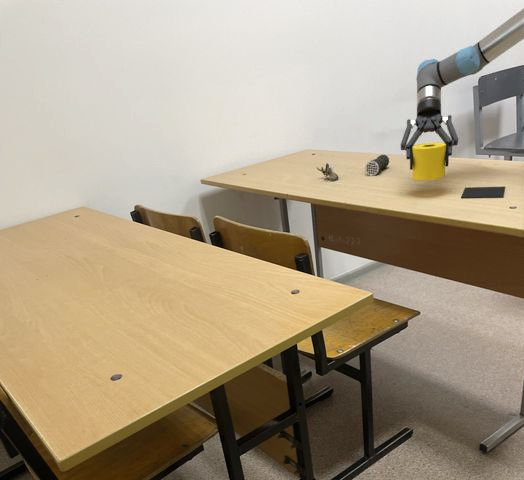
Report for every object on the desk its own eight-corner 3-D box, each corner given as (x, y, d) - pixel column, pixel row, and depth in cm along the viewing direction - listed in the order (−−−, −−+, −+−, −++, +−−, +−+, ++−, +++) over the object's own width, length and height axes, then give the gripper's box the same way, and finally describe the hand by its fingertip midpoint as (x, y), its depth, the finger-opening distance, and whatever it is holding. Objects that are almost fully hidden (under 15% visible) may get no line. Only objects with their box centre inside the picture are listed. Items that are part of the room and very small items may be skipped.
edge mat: (505, 187, 168) (505, 186, 168) (503, 197, 159) (503, 196, 159) (465, 188, 173) (465, 187, 173) (460, 198, 164) (461, 197, 164)
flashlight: (377, 167, 219) (377, 153, 217) (390, 167, 217) (390, 153, 214) (365, 175, 208) (364, 161, 205) (378, 175, 205) (378, 161, 203)
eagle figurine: (312, 177, 212) (322, 176, 204) (319, 159, 211) (328, 158, 203) (328, 184, 215) (338, 183, 207) (334, 167, 214) (345, 166, 206)
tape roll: (430, 171, 176) (431, 141, 171) (451, 175, 168) (452, 144, 163) (405, 177, 173) (406, 147, 168) (425, 181, 165) (426, 150, 160)
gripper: (464, 109, 172) (466, 169, 166) (393, 117, 178) (392, 175, 172) (467, 92, 165) (468, 155, 159) (392, 101, 171) (391, 161, 165)
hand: (429, 165), depth 166 cm, fingers closed on tape roll, 10 cm apart
